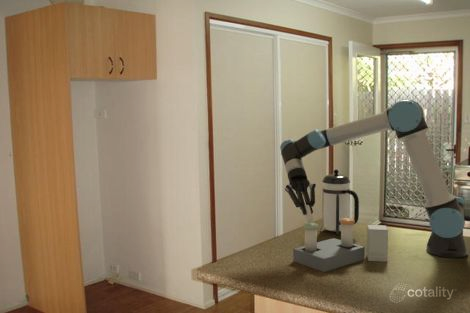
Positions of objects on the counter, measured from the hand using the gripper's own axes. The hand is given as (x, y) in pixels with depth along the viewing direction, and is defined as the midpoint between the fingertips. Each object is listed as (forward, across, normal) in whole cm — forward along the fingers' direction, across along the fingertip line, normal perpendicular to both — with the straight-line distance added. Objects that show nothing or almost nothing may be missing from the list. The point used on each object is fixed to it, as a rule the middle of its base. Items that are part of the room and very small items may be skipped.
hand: (310, 221), depth 183 cm
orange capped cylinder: (+7, -15, -8) cm, 19 cm away
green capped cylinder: (+8, 0, -8) cm, 11 cm away
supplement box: (+14, -27, -10) cm, 31 cm away
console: (+11, -8, -11) cm, 18 cm away
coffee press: (-15, -29, -38) cm, 50 cm away
